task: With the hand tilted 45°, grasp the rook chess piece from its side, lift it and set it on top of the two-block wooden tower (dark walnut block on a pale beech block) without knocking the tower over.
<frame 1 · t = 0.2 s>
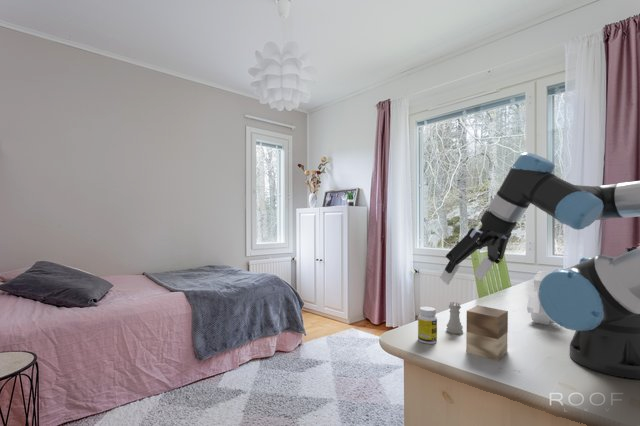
hand: (461, 279, 94), 15 cm above the table, tool tilted 35°, fingers open, 13 cm apart
beech block: (486, 352, 82), on the table, touching walnut block
walnut block: (487, 331, 82), point 5 cm above the table, touching beech block
voxel character: (541, 323, 104), on the table
supplement bottle: (427, 341, 89), on the table
rook chess piece: (454, 332, 96), on the table
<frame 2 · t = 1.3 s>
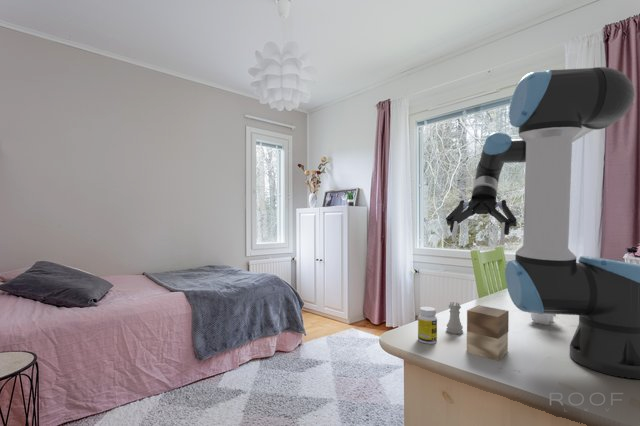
hand: (476, 240, 104), 25 cm above the table, tool tilted 45°, fingers open, 13 cm apart
nothing on the table moved.
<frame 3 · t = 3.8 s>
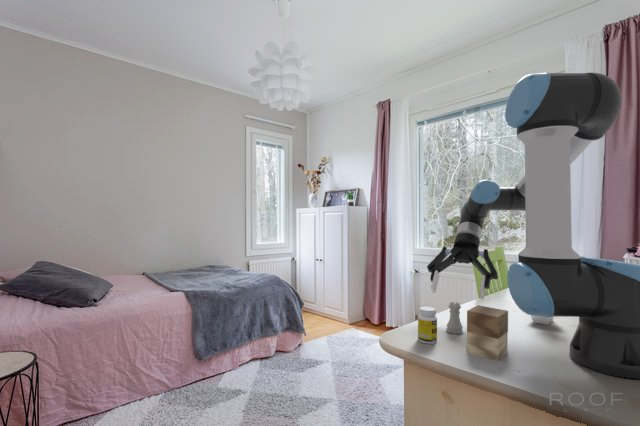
hand: (456, 293, 101), 10 cm above the table, tool tilted 45°, fingers open, 13 cm apart
nothing on the table moved.
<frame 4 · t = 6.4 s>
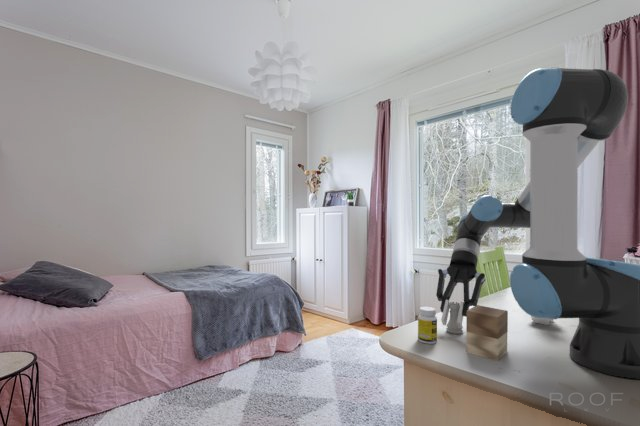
hand: (451, 323, 93), 3 cm above the table, tool tilted 45°, fingers closed on rook chess piece, 3 cm apart
rook chess piece: (454, 332, 96), on the table, touching gripper
everything else where it was.
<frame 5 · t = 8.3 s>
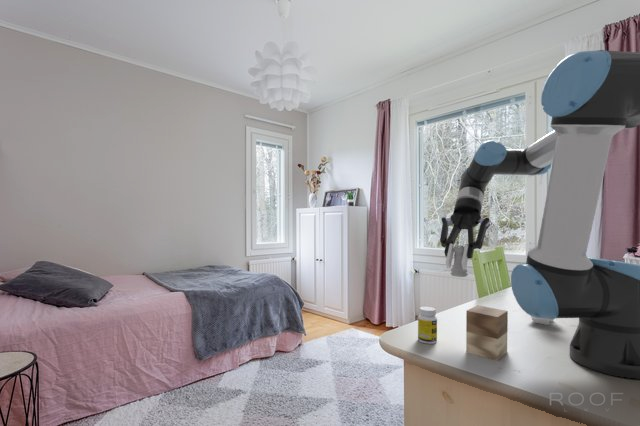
hand: (455, 265, 91), 19 cm above the table, tool tilted 45°, fingers closed on rook chess piece, 3 cm apart
rook chess piece: (459, 276, 94), point 16 cm above the table, touching gripper
everything else where it was.
when the fingers open (14 cm above the table, at t = 10.3 s): rook chess piece drops 1 cm, resting on walnut block.
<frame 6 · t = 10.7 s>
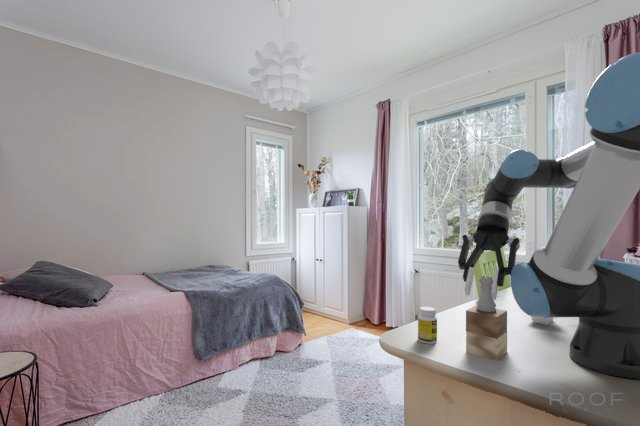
hand: (480, 294, 80), 14 cm above the table, tool tilted 45°, fingers open, 5 cm apart
walnut block: (486, 331, 82), point 5 cm above the table, touching beech block, rook chess piece
rook chess piece: (486, 311, 82), point 10 cm above the table, touching walnut block
everything else where it was.
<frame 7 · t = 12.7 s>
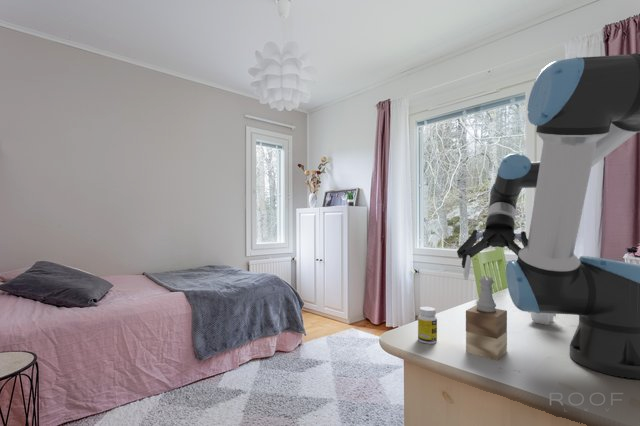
hand: (493, 279, 90), 16 cm above the table, tool tilted 45°, fingers open, 13 cm apart
nothing on the table moved.
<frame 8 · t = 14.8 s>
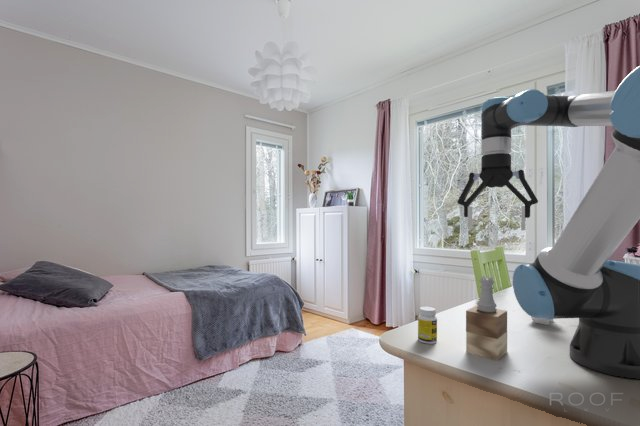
hand: (495, 229, 97), 29 cm above the table, tool pointing down, fingers open, 13 cm apart
nothing on the table moved.
at the end: rook chess piece 0.1 cm off-centre on the walnut block, point 4.8 cm above the walnut block's base; rook chess piece tilted 0°; walnut block moved 0.2 cm from its start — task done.
